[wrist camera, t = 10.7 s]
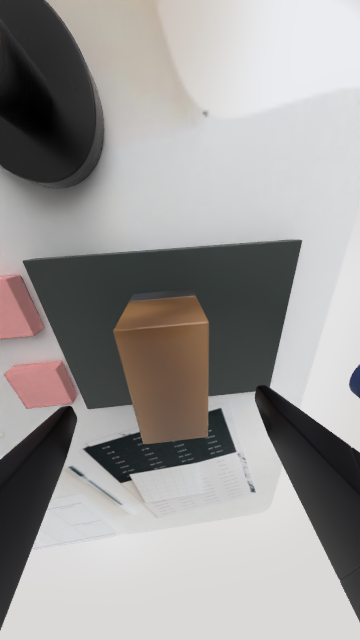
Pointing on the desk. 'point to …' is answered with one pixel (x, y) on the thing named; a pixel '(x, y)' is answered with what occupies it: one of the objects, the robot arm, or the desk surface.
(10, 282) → the crumb
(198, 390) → the brown block
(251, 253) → the slate
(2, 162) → the desk lamp
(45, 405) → the crumb
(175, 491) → the desk surface
